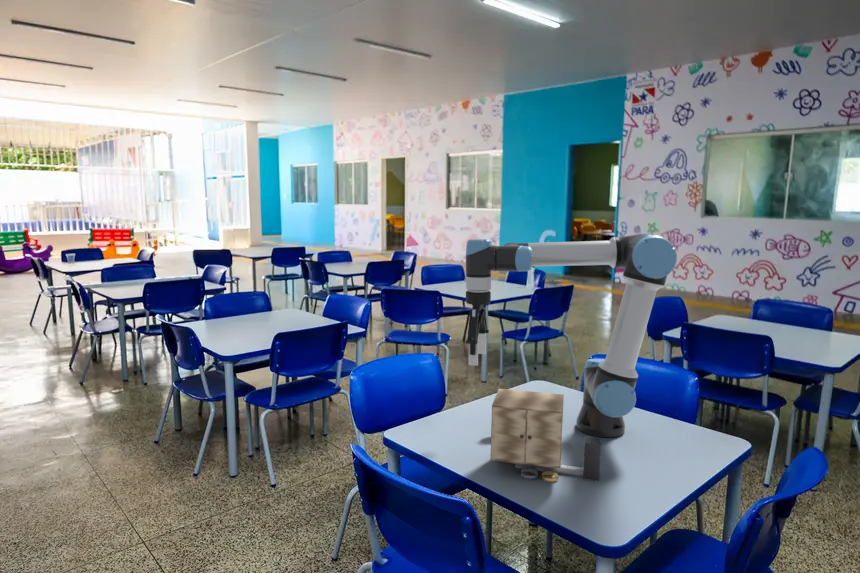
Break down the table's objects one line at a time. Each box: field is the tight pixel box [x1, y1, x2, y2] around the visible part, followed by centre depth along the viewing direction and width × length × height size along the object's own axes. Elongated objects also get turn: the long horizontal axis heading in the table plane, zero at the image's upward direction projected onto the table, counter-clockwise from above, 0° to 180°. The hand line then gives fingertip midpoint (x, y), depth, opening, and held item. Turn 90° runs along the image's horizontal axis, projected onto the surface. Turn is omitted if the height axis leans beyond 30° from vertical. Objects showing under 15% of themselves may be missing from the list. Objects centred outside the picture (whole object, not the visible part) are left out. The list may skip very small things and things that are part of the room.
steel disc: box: [520, 469, 539, 481], centre depth 150 cm, size 4×4×1 cm
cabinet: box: [490, 388, 565, 468], centre depth 151 cm, size 18×15×20 cm
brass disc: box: [541, 471, 560, 483], centre depth 148 cm, size 4×4×1 cm
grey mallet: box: [515, 435, 602, 482], centre depth 152 cm, size 22×5×10 cm, turn 76°
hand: (477, 359), depth 171 cm, fingers open, 13 cm apart
